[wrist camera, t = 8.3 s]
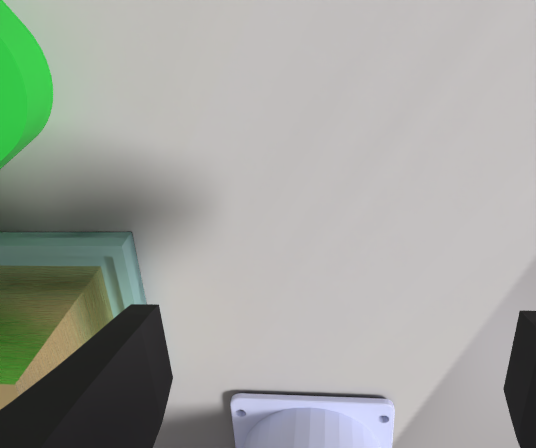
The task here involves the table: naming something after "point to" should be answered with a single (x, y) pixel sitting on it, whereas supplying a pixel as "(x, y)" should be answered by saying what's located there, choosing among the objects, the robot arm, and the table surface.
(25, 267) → the block
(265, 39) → the table surface
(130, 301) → the tray
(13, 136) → the mechanical part
